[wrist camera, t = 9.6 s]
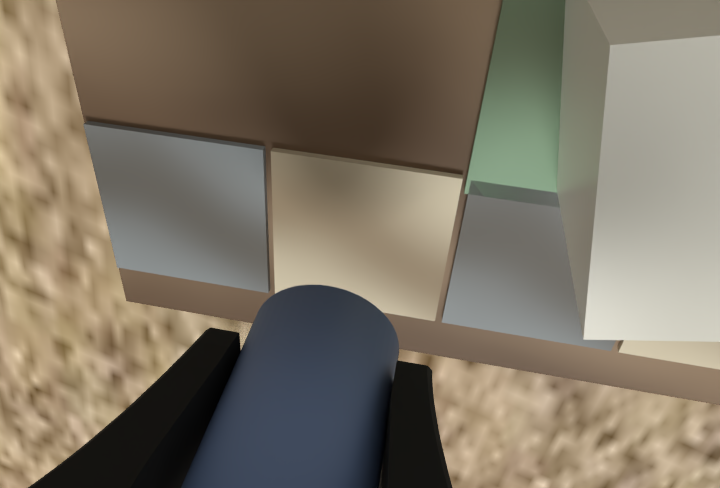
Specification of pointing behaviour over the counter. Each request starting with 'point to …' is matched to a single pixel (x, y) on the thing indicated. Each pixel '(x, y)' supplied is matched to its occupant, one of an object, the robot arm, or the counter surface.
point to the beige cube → (642, 167)
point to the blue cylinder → (304, 397)
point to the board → (352, 171)
